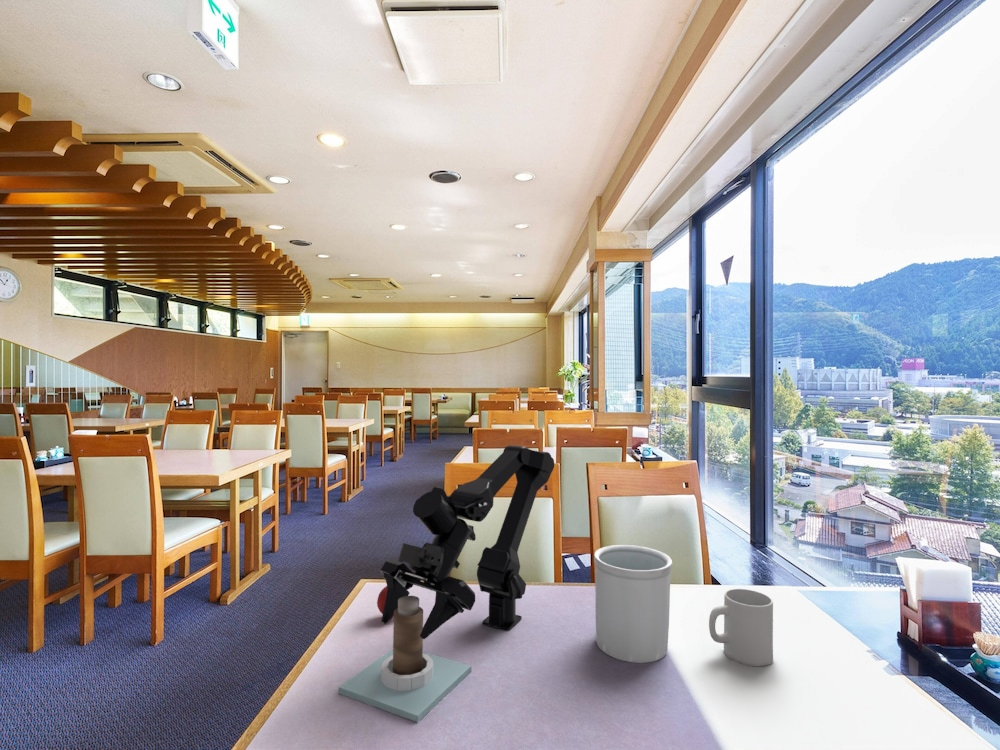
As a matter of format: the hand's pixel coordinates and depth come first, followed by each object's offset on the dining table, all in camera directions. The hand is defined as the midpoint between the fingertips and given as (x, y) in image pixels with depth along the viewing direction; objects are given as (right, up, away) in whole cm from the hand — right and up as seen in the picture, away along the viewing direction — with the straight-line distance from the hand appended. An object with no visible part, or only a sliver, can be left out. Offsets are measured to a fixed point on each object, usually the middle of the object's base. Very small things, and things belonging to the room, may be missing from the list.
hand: (402, 630), depth 91 cm
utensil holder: (+42, -10, +14) cm, 46 cm away
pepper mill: (+1, -8, +1) cm, 8 cm away
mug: (+62, -10, +11) cm, 64 cm away
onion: (-7, -10, +25) cm, 28 cm away
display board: (+1, -9, +1) cm, 9 cm away
